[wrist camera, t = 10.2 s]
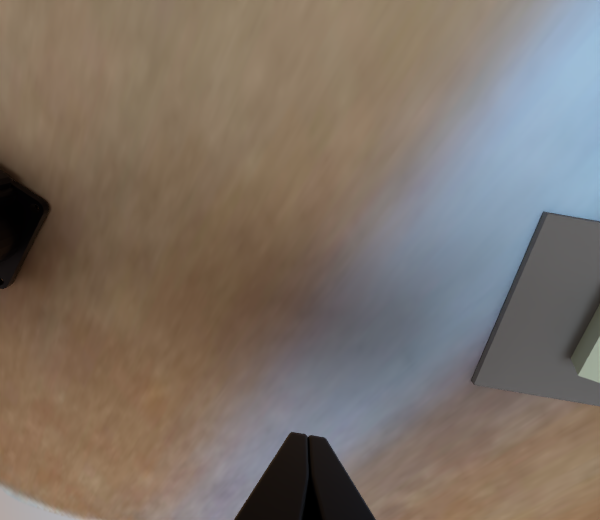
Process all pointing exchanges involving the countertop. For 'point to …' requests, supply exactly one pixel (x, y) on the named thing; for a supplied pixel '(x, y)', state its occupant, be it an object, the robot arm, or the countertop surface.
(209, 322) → the countertop surface
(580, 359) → the domino
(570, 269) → the mat
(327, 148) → the countertop surface
